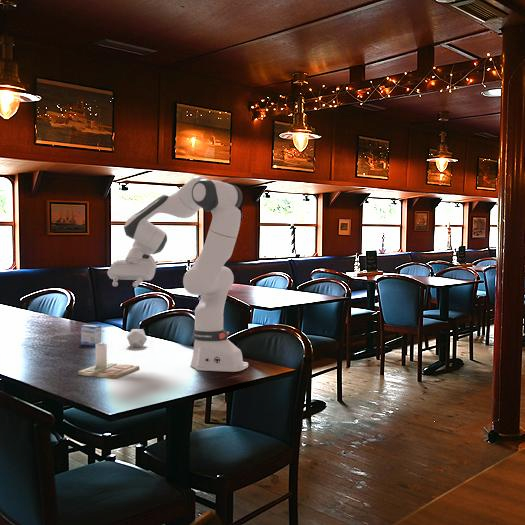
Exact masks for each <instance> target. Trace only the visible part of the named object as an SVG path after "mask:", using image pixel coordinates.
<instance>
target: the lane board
mask: <svg viewBox="0 0 525 525" xmlns="http://www.w3.org/2000/svg"><path fill="white" fill-rule="evenodd" d="M138 370H140V365H135V364H134V365H133V364H123V363H112V362H107V367H106V368H96V364H95V365H92V366H90V367H87V368H84V369H81V370H78V371H77V375H78V376H86V377H97V378H107V379H116V380H117V379H119V378H121V377H123V376H126V375H129V374H130V373H134V372H136V371H138Z"/></svg>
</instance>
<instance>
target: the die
mask: <svg viewBox="0 0 525 525" xmlns="http://www.w3.org/2000/svg"><path fill="white" fill-rule="evenodd" d="M126 338H127V341H128V344H129V346H130V348H143V347H144V345H145V343H146V342H147V341H148V339H147V336H146V333H145V330H144V329H143V328H141V329H140V328H139V329H138V328H132V329H131V330H130V332H128V335H127V336H126Z"/></svg>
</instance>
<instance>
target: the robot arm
mask: <svg viewBox="0 0 525 525" xmlns="http://www.w3.org/2000/svg"><path fill="white" fill-rule="evenodd" d="M242 202H243V192H242V190H241V189H240V188H239V187H238V186H236V185H235V184H232V183H228V182H223V181H222V180H217V179H215V180H214V179H208V178H206V177H204V176H202V175H201V176H200V175H196V176H193V178H191V179H190V180H188V181H187V182H186V183H185V184H184V185H182V187H181V188H180V189H179V190H178V191H176V192H175V193H174V192H173V193H171V194H162V195H161V196H159V197H158V198H156V199H155V200H153V201H152V202H151V203H149V204H148V205H147V206H145V207H144V208H143V209H141V210H140V211H138V212H137V213H134V214H133V215H132V216H130V217H129V218H128V219H127V220H126V221H125V223H124V225H123V230H124V233H125V236H126V237H128V238H130V239H132V240H134V241H133V244H132V247H131V249H130V250H129V252H128V253H127V255H126V257H125V259H124V260H122V259H121V260H120V259H119V260H116V261H113V262H112V264H111V265H110V267H109V268H108V270H107V276H108V277H109V279H111V280H113V281H112V283H111V285H112V286H113V287H118V285H119V282H118V281H119V280H128V281H129V280H130V281H131V280H132V281H133V282H132V287H133V288H138V287H139V285H140V284H142V283H143V281H152V279H154V277H155V274H156V269H157V267H158V266H157V263H156V261H155V258H154V257H153V256H152V255H156V254H159V253H160V252H161V253H162V251H163V249H164V247H165V246H166V244H167V242H168V236H167V233H166V232H165V231H163V230H162V228H161V229H160V227H158V226H156V225H155V224H153V223H152V222H150V221H149V219H151V218H152V217H154V216H155V215H157V214H167V215H171V216H174V217H175V218H176V217H177V218H181V219H188V218H191V217H192V216H194V215H195V214H196V213H198V212H199V210H200V209H202V210H203V211H205V212H206V213H208V212H211V214H212V218H211V223H210V225H209V229H208V231H207V235H206V239H205V242H204V245H203V247H202V250H201V252H200V253H199V255H198V257H197V258H196V260H195V262H194V263H193V265H192V266H191V267H190V269H188V270H187V271H186V272H185V273H184V274H183V279H182V284H183V287H184V289H185V290H186V291H187V293H189V294H192V295H195V296H200V300H199V303H198V304H197V305H196V307H195V310H194V329H193V336H192V338H193V351H192V358H191V360H190V361H191V362H190V365H189V366H190V367H191V368H193V369H195V370H196V371H205V372H207V371H209V372H210V371H211V372H226V373H227V372H229V373H230V372H231V373H234V372H241V371H244V370H245V369H248V367H249V362H247V361H244V360H243V353H242V350H241V349H240V348H238V347H237V346H236V345H235V344H234V343H233V342H231V341H230V340H229V339H228V338H229V334H230V331H227V330H225V329H224V311H225V310H224V309H225V304H226V300H227V297H228V295H229V294H228V293H229V291H230V289H231V287H232V286H233V284H234V282H235V279H234V278H235V277H234V274H233V272H232V270H231V269H230V268H229V267H227V266H225V264H226V262H227V261H228V260H230V259H231V257H232V254H233V251H234V248H235V245H236V242H237V238H238V234H239V231H240V227H241V219H242V212H241V211H240V209H239V207H240V206H241V205H242Z"/></svg>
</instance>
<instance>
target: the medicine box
mask: <svg viewBox="0 0 525 525" xmlns="http://www.w3.org/2000/svg"><path fill="white" fill-rule="evenodd" d="M80 337H81V339H80V341H81V345H82V346H83V345H84V346H95V347H96V344H98V343H102V326H101V325H95V324H83V325H81V336H80Z"/></svg>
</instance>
